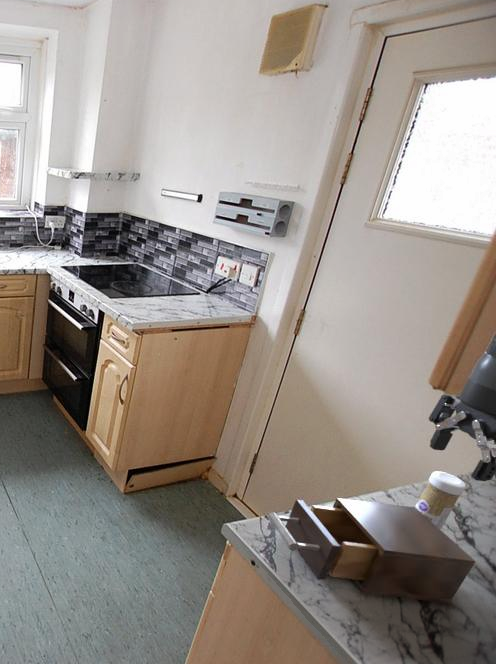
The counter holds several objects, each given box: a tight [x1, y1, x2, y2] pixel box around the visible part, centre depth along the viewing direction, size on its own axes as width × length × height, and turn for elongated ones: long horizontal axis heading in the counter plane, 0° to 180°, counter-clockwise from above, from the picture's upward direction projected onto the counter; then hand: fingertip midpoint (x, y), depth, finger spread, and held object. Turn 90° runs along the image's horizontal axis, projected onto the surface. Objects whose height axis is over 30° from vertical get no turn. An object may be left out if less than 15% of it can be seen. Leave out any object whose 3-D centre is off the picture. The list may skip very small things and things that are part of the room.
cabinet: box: [332, 497, 477, 605], centre depth 77 cm, size 14×12×9 cm
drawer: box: [267, 499, 379, 581], centre depth 78 cm, size 18×10×7 cm, turn 86°
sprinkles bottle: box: [414, 470, 467, 531], centre depth 85 cm, size 5×5×14 cm
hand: (456, 463), depth 82 cm, fingers open, 8 cm apart
